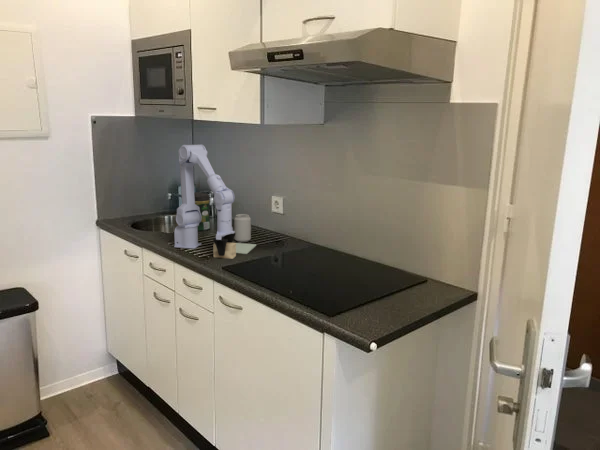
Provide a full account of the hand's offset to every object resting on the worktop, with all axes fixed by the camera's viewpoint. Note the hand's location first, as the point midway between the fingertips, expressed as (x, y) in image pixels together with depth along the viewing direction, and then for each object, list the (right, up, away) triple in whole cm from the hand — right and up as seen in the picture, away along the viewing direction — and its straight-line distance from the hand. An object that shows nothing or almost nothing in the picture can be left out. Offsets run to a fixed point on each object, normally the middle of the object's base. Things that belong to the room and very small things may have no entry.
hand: (224, 253), depth 196 cm
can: (+4, +4, +26) cm, 27 cm away
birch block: (0, -2, 0) cm, 2 cm away
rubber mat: (+2, +1, +13) cm, 13 cm away
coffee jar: (-19, +9, +47) cm, 51 cm away
